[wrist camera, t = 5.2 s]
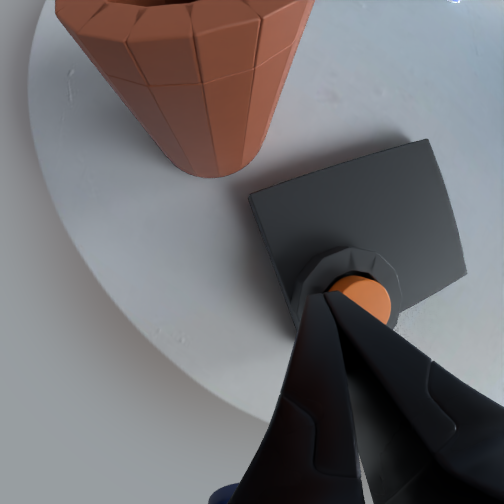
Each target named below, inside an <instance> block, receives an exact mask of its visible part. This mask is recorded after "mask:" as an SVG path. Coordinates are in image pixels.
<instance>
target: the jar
mask: <svg viewBox="0 0 504 504" xmlns="http://www.w3.org/2000/svg"><path fill="white" fill-rule="evenodd" d="M314 2H315V0H55V14H56V16H57V18H58V19H59V21H60V22H61V23H62V24H63V26H64V27H65V28H66V30H67V31H68V32H69V33H70V35H71V36H72V37H73V38H74V40H75V41H76V42H77V44H78V45H79V46H80V47H81V49H82V50H83V51H84V53H85V54H86V55H87V56H88V58H89V59H90V60H91V62H92V63H93V64H94V65H95V67H96V68H97V69H98V70H99V72H100V73H101V74H102V76H103V77H104V78H105V79H106V81H107V82H108V83H109V84H110V86H111V87H112V88H113V90H114V91H115V92H116V93H117V95H118V96H119V97H120V98H121V100H122V101H123V102H124V103H125V105H126V106H127V107H128V108H129V110H130V111H131V112H132V114H133V115H134V116H135V117H136V119H137V120H138V121H139V122H140V124H141V125H142V126H143V127H144V129H145V130H146V131H147V132H148V134H149V135H150V136H151V137H152V139H153V140H154V141H155V142H156V144H157V145H158V146H159V147H160V149H161V150H162V151H163V152H164V154H165V155H166V156H167V157H168V158H169V159H170V160H171V161H172V163H174V164H175V165H176V166H177V167H178V168H179V169H181V170H182V171H184V172H186V173H188V174H191V175H194V176H197V177H202V178H218V177H224V176H227V175H230V174H233V173H235V172H237V171H239V170H241V169H242V168H244V167H245V166H246V165H248V164H249V163H250V162H251V161H252V160H253V159H254V157H255V156H256V155H257V153H258V152H259V150H260V148H261V146H262V143H263V141H264V139H265V137H266V134H267V131H268V128H269V126H270V123H271V120H272V117H273V114H274V111H275V108H276V106H277V103H278V100H279V97H280V94H281V91H282V89H283V86H284V83H285V80H286V78H287V75H288V72H289V69H290V67H291V64H292V61H293V58H294V56H295V53H296V50H297V47H298V45H299V42H300V39H301V37H302V34H303V31H304V29H305V26H306V23H307V21H308V18H309V15H310V12H311V10H312V7H313V4H314Z"/></svg>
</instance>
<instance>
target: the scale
mask: <svg viewBox="0 0 504 504" xmlns="http://www.w3.org/2000/svg"><path fill="white" fill-rule="evenodd" d="M248 200H249V202H250V205H251V208H252V210H253V213H254V216H255V218H256V221H257V224H258V226H259V229H260V232H261V235H262V237H263V240H264V243H265V245H266V248H267V251H268V253H269V256H270V259H271V262H272V264H273V267H274V270H275V272H276V275H277V278H278V281H279V283H280V286H281V289H282V292H283V294H284V297H285V300H286V303H287V305H288V308H289V311H290V314H291V316H292V319H293V322H294V325H295V328H296V330H297V331H298V327H299V323H300V319H301V315H302V311H303V307H304V303H305V299H306V296H307V295H310V294H316V293H322V294H323V293H324V292H328V291H329V289H330V288H331V287H332V286H333V284H335V283H336V282H337V281H338V280H340V279H342V278H344V277H347V276H361V277H364V278H367V279H370V280H374V281H376V282H378V283H380V284H381V285H382V286H383V287H384V288H385V289H386V291H387V293H388V295H389V298H390V302H391V312H390V316H389V319H388V322H387V324H386V325H387V326H388V327H389V328H391V329H392V330H393V328H394V327H395V326H396V324H397V320H398V315H399V313H400V312H402V311H404V310H406V309H408V308H409V307H411V306H413V305H415V304H417V303H419V302H420V301H422V300H424V299H426V298H427V297H429V296H431V295H433V294H435V293H436V292H438V291H440V290H441V289H443V288H445V287H446V286H448V285H450V284H451V283H453V282H455V281H456V280H458V279H460V278H461V277H463V276H465V275H466V274H467V270H466V265H465V260H464V255H463V250H462V246H461V242H460V237H459V233H458V229H457V225H456V221H455V218H454V214H453V210H452V207H451V203H450V200H449V197H448V193H447V190H446V187H445V184H444V181H443V178H442V175H441V172H440V169H439V166H438V164H437V161H436V158H435V156H434V153H433V150H432V148H431V145H430V143H429V140H428V139H423V140H420V141H416V142H412V143H408V144H405V145H401V146H398V147H394V148H391V149H387V150H384V151H380V152H377V153H373V154H370V155H367V156H363V157H360V158H357V159H353V160H350V161H347V162H344V163H340V164H337V165H334V166H331V167H328V168H325V169H321V170H318V171H315V172H312V173H309V174H306V175H303V176H300V177H297V178H294V179H291V180H288V181H285V182H282V183H279V184H277V185H274V186H271V187H268V188H265V189H262V190H259V191H257V192H254V193H251V194H250V195H249V197H248Z"/></svg>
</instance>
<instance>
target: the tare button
mask: <svg viewBox="0 0 504 504" xmlns="http://www.w3.org/2000/svg"><path fill="white" fill-rule="evenodd" d="M336 290H338V291H340V292H342V293H343V294H344V295H346V296H347V297H348V298H350V299H351V300H353V301H354V302H355V303H357V304H358V305H359V306H361V307H362V308H363V309H365V310H366V311H368V312H369V313H370V314H372V315H373V316H374V317H376V318H377V319H378V320H380V321H381V322H382V323H384V324H385V325H386V324H387V322H388V319H389V316H390V312H391V302H390V298H389V295H388V293H387V291H386V289H385V288H384V287H383V286H382V285H381V284H380V283H378V282H376V281H374V280H370V279H367V278H364V277H361V276H347V277H344V278H342V279H340V280H338V281H337V282H336V283H335V284H333V286H332V287H331V288H330V289H329V291H336ZM329 291H328V292H329Z"/></svg>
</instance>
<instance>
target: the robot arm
mask: <svg viewBox="0 0 504 504" xmlns="http://www.w3.org/2000/svg"><path fill="white" fill-rule="evenodd" d="M431 361H432V360H431V358H429V357H428V356H427V355H425V354H424V353H423V352H421V351H420V350H419V349H417V348H416V347H415V346H413V345H412V344H411V343H409V342H408V341H407V340H405V339H404V338H403V337H401V336H400V335H399V334H397V333H396V332H395V331H393V330H392V329H391V328H389V327H388V326H387V325H385V324H384V323H382V322H381V321H380V320H378V319H377V318H376V317H374V316H373V315H372V314H370V313H369V312H368V311H366V310H365V309H363V308H362V307H361V306H359V305H358V304H357V303H355V302H354V301H353V300H351V299H350V298H348V297H347V296H346V295H344V294H343V293H342V292H340V291H338V290H336V291H329V292H324V293H323V294H322V293H316V294H310V295H307V296H306V299H305V303H304V307H303V311H302V315H301V319H300V323H299V327H298V331H297V335H296V339H295V342H294V346H293V350H292V353H291V357H290V361H289V364H288V368H287V371H286V375H285V378H284V382H283V385H282V388H281V392H280V393H281V394H280V395H279V398H278V401H277V404H276V408H275V410H274V413H273V416H272V419H271V422H270V424H269V427H268V429H267V432H266V434H265V436H264V438H263V440H262V442H261V445H260V447H259V449H258V451H257V453H256V454H255V456H254V458H253V460H252V462H251V464H250V466H249V467H248V469H247V471H246V473H245V474H244V476H243V478H242V480H241V481H240V483H239V485H238V487H237V488H236V490H235V492H234V494H233V495H232V497H231V498H230V500H229V502H228V503H227V504H365V500H364V495H363V489H362V481H361V470H360V462H359V455H360V459H361V462H362V465H363V468H364V472H365V475H366V479H367V482H368V485H369V489H370V492H371V496H372V499H373V503H374V504H504V407H503V406H501V405H499V404H498V403H496V402H494V401H493V400H491V399H489V398H488V397H486V396H484V395H483V394H481V393H479V392H478V391H476V390H475V389H473V388H472V387H470V386H468V385H467V384H465V383H464V382H462V381H461V380H459V379H458V378H456V377H455V376H454V375H452V374H451V373H450V372H448V371H447V370H445V369H444V368H443V367H441V366H440V365H439V364H437V363H436V362H435V361H432V362H431ZM358 452H359V454H358Z"/></svg>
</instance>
